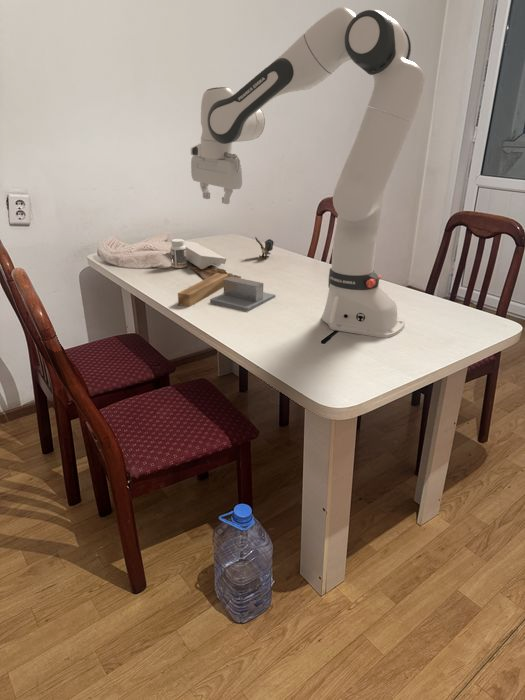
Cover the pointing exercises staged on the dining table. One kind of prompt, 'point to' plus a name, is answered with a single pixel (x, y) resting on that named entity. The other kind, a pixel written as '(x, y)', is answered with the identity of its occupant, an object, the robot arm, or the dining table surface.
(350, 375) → the dining table surface
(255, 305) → the ridge board
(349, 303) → the robot arm
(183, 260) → the pill bottle
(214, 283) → the wood batten
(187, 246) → the decorative molding
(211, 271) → the wooden fragment
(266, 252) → the eagle figurine
